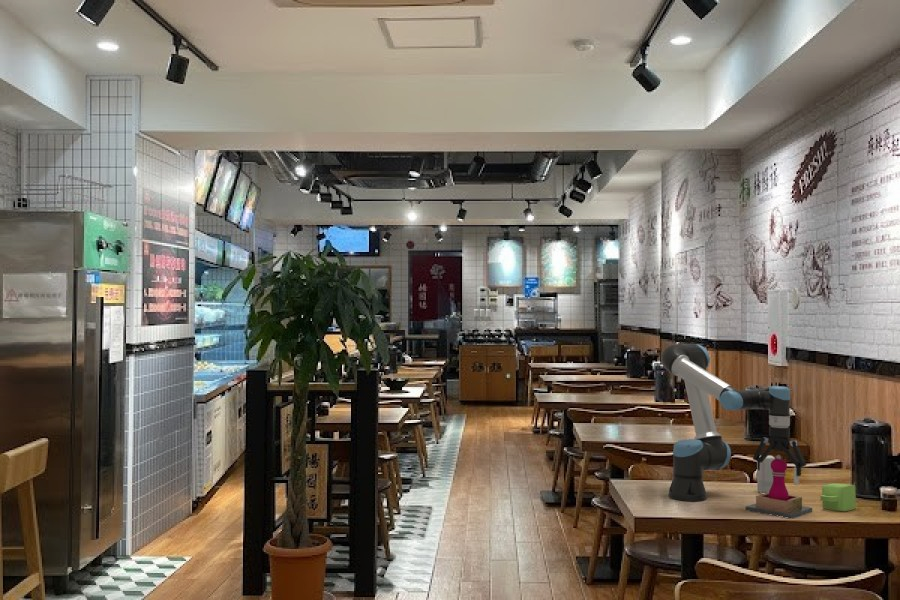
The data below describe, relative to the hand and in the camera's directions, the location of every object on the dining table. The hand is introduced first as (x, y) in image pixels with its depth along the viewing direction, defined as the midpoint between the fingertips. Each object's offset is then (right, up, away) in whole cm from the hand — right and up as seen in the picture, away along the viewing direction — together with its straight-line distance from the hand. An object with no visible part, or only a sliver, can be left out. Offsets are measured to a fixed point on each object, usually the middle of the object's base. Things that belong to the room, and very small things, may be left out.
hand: (779, 481), depth 325 cm
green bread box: (+26, -12, +7) cm, 29 cm away
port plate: (0, -11, 0) cm, 11 cm away
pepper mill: (0, -10, 0) cm, 10 cm away
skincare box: (+8, -13, +35) cm, 38 cm away
